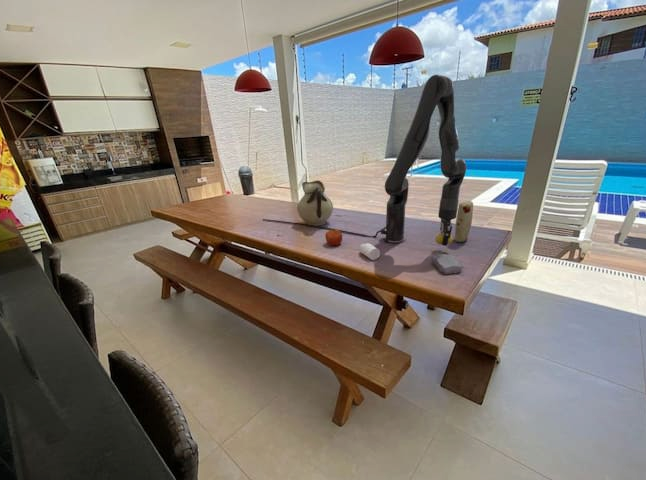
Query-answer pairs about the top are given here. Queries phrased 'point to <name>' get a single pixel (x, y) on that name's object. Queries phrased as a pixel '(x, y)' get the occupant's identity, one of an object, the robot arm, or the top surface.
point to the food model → (463, 221)
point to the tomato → (333, 237)
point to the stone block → (447, 264)
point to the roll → (370, 251)
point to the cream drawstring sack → (314, 204)
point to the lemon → (440, 238)
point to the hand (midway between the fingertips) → (443, 242)
